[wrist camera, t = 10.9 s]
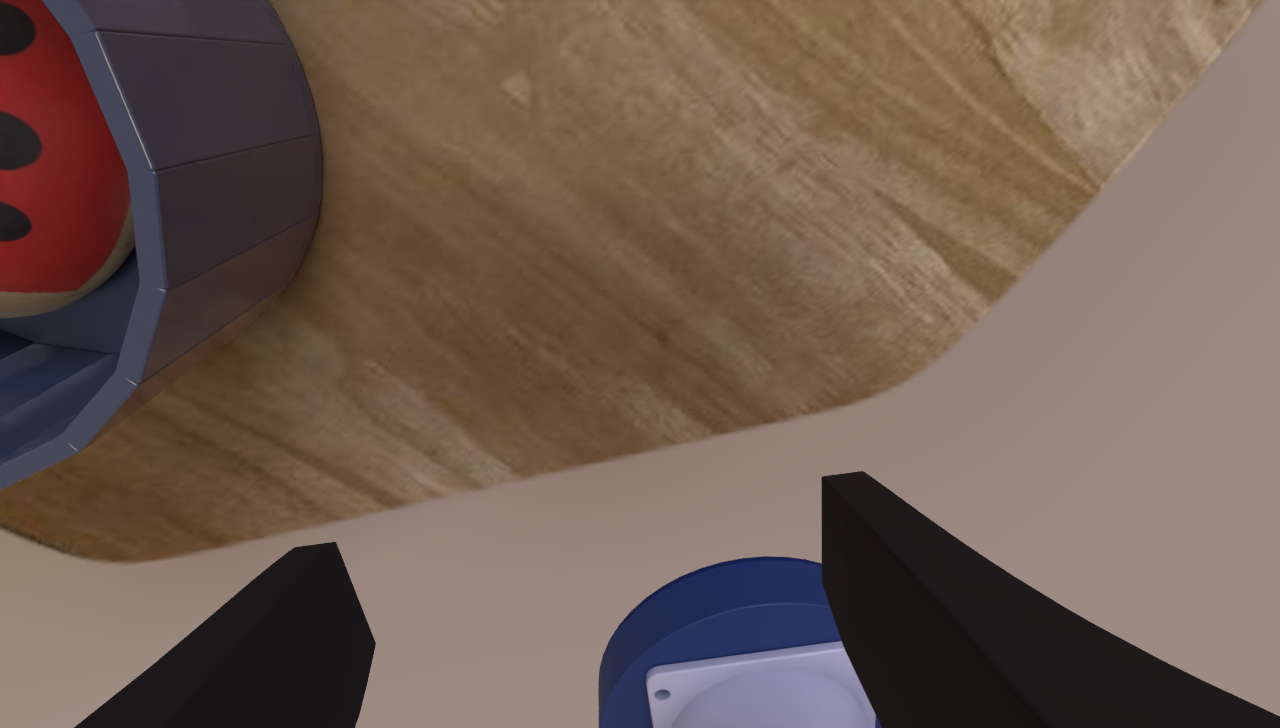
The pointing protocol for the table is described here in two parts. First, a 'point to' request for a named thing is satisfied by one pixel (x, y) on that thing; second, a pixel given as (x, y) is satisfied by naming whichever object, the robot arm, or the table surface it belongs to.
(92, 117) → the ladybug figurine
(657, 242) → the table surface
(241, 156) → the round open container
